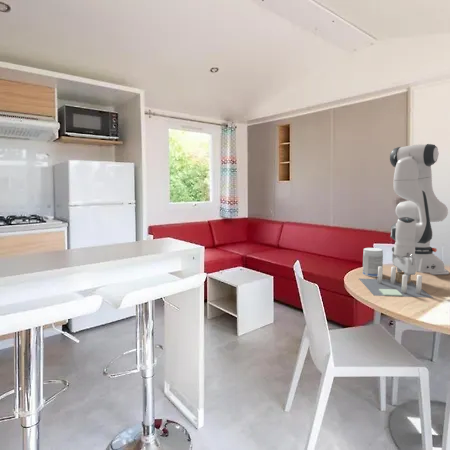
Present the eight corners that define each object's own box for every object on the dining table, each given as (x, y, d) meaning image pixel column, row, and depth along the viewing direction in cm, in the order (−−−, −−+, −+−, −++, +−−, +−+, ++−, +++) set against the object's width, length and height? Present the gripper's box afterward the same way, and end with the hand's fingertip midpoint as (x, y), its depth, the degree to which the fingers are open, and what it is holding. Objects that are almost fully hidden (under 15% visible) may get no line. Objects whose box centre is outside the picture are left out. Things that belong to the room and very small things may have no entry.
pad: (396, 290, 151) (396, 289, 151) (402, 296, 144) (402, 294, 144) (378, 290, 153) (378, 288, 152) (384, 295, 145) (384, 294, 145)
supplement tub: (385, 277, 177) (387, 249, 176) (375, 280, 172) (376, 251, 170) (369, 273, 185) (370, 246, 184) (358, 275, 180) (359, 248, 178)
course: (408, 282, 168) (410, 264, 167) (433, 300, 142) (434, 279, 141) (358, 280, 171) (359, 263, 170) (373, 298, 146) (374, 277, 144)
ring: (406, 279, 168) (407, 272, 167) (411, 283, 162) (412, 275, 161) (394, 279, 169) (394, 271, 168) (398, 283, 163) (399, 275, 162)
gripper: (420, 255, 153) (418, 285, 155) (403, 247, 173) (401, 273, 175) (405, 255, 154) (404, 285, 155) (390, 247, 174) (389, 273, 176)
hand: (402, 278), depth 165 cm, fingers closed on ring, 6 cm apart
